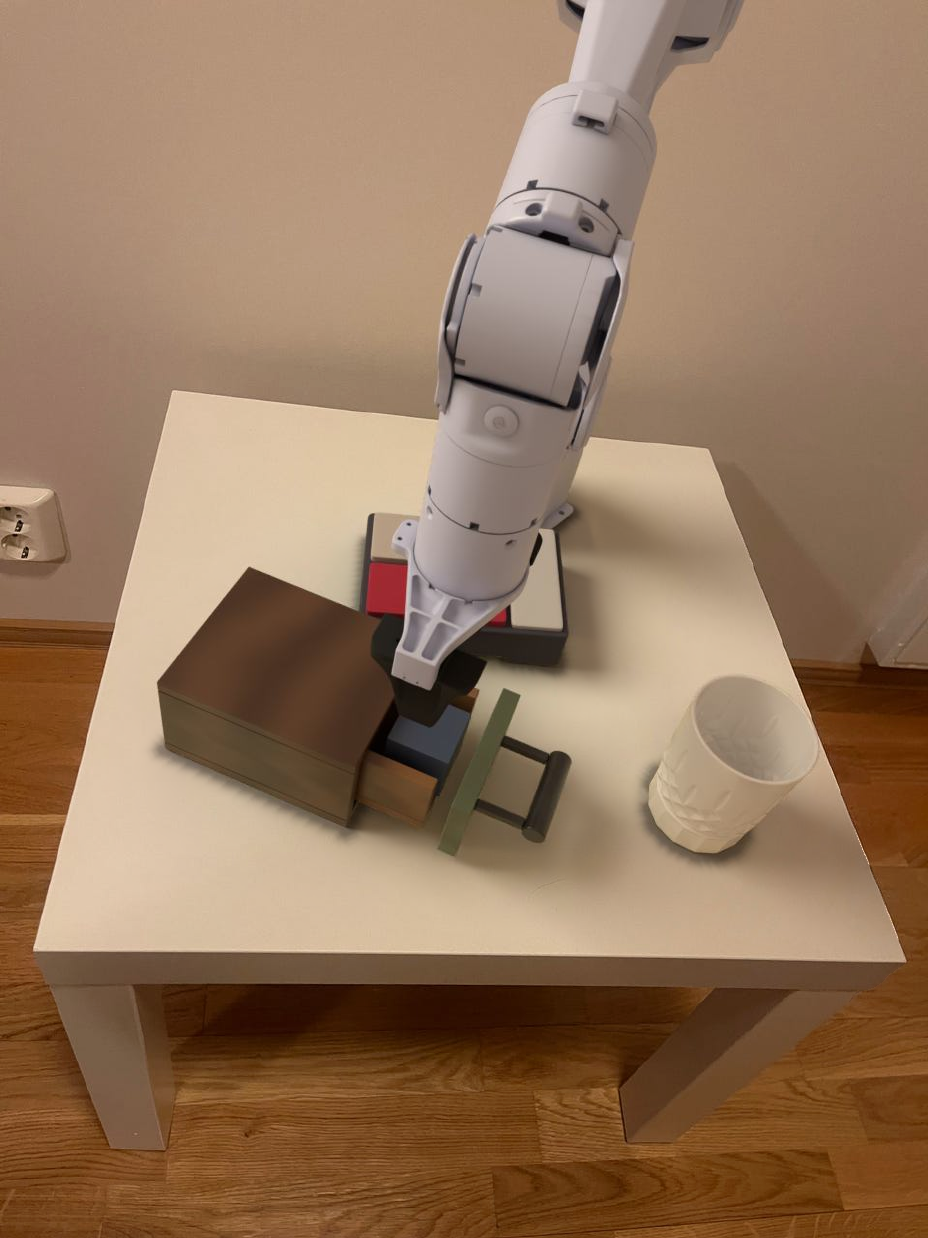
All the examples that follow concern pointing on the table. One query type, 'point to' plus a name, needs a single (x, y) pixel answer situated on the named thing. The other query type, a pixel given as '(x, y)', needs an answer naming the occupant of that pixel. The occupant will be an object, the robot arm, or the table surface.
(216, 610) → the cabinet
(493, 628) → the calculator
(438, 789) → the block
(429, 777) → the drawer
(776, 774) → the white cup
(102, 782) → the table surface
